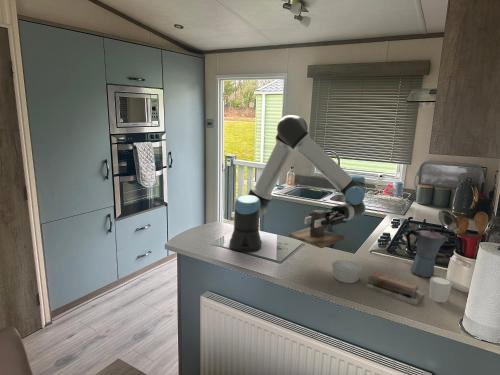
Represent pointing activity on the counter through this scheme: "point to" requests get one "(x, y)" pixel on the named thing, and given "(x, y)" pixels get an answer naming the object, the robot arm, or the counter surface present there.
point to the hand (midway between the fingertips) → (310, 222)
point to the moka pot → (425, 251)
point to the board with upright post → (317, 233)
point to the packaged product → (394, 288)
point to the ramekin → (346, 271)
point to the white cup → (439, 289)
